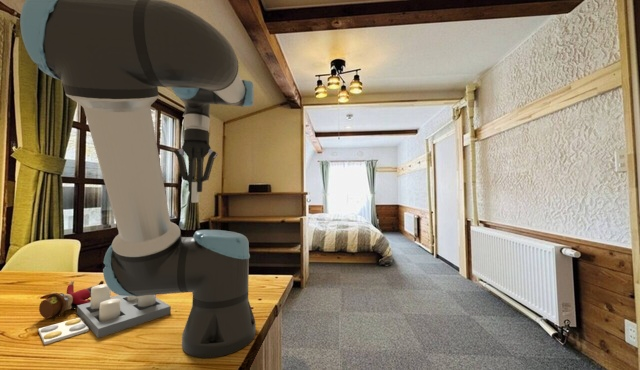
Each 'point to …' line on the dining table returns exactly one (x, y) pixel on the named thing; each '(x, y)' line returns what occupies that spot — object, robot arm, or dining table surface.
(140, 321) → the board
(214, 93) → the robot arm
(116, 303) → the button near left
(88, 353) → the dining table surface
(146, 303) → the button near right
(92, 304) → the button far left
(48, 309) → the toy
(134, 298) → the button far right
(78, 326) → the card
